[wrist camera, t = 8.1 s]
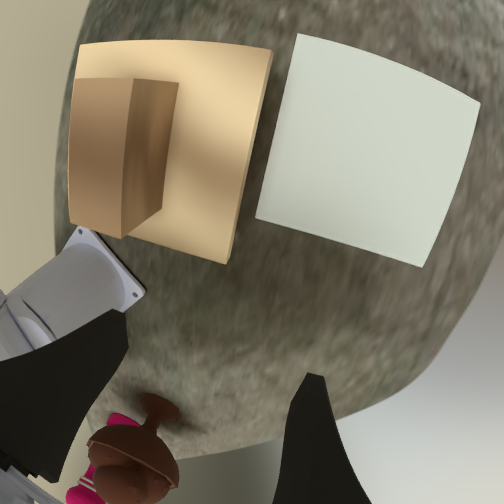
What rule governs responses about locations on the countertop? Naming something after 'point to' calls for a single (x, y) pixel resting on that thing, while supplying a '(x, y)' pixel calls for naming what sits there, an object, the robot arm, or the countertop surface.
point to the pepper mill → (84, 495)
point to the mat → (365, 151)
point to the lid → (164, 140)
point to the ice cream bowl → (135, 457)
